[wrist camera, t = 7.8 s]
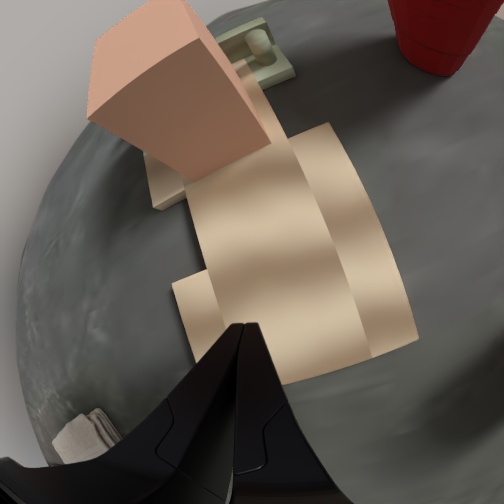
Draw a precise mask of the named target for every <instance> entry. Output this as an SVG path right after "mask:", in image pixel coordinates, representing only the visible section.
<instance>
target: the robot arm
mask: <svg viewBox="0 0 504 504" xmlns="http://www.w3.org/2000/svg"><path fill="white" fill-rule="evenodd" d="M232 468H233V476H234V477H233V487H232V495H231V499H230V502H229V504H354V503H353V502H351V501H350V500H349V499H348V498H347V497H346V496H345V495H344V494H343V492H342V491H341V490H340V489H339V488H338V487H337V485H336V484H335V483H334V481H333V480H332V478H331V477H330V476H329V474H328V473H327V471H326V470H325V468H324V466H323V465H322V463H321V462H320V460H319V459H318V457H317V456H316V454H315V452H314V451H313V449H312V448H311V446H310V444H309V443H308V441H307V439H306V438H305V436H304V434H303V432H302V431H301V429H300V427H299V425H298V422H297V420H296V418H295V416H294V413H293V411H292V408H291V406H290V403H289V402H288V399H287V396H286V393H285V391H284V388H283V386H282V383H281V381H280V378H279V376H278V373H277V370H276V368H275V365H274V363H273V360H272V357H271V355H270V352H269V350H268V347H267V344H266V342H265V339H264V336H263V334H262V331H261V328H260V326H259V323H258V322H247V323H245V324H244V323H232V324H230V325H229V327H228V328H227V329H226V330H225V331H224V332H223V334H222V335H221V336H220V337H219V338H218V339H217V340H216V342H215V343H214V344H213V345H212V346H211V347H210V349H209V350H208V351H207V352H206V353H205V354H204V355H203V357H202V358H201V359H200V360H199V361H198V362H197V363H196V364H195V366H194V367H193V368H192V369H191V370H190V371H189V372H188V373H187V375H186V376H185V377H184V378H183V379H182V380H181V381H180V382H179V384H178V385H177V386H176V387H175V388H174V389H173V390H172V391H171V392H170V393H169V395H168V396H167V398H165V399H164V400H163V401H162V402H161V403H160V404H159V405H158V406H157V407H156V408H155V410H154V411H153V412H152V413H151V414H150V415H149V416H148V417H147V418H146V419H144V420H143V421H142V422H141V423H140V424H139V425H138V426H137V427H135V428H134V429H133V430H132V431H131V432H130V433H128V434H127V435H126V436H125V437H124V438H122V439H121V440H120V441H119V442H117V443H116V444H115V445H114V446H112V447H111V448H110V449H109V450H107V451H106V452H105V453H103V454H101V455H100V456H98V457H96V458H93V459H90V460H86V461H81V462H76V463H70V464H64V465H57V466H49V467H41V468H27V467H23V466H22V465H20V464H19V463H17V462H16V461H14V460H12V459H11V458H10V457H3V458H0V504H225V503H226V502H225V501H226V498H227V493H228V488H229V483H230V478H231V473H232Z"/></svg>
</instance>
